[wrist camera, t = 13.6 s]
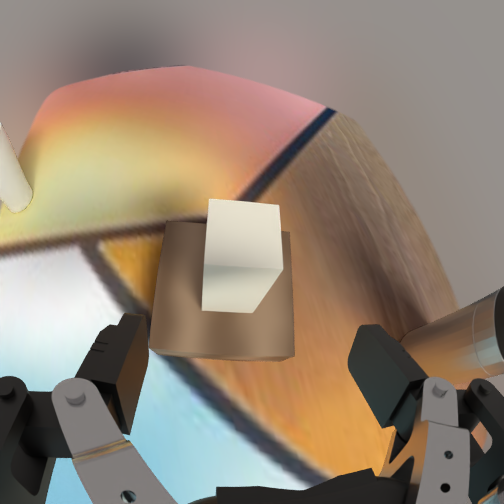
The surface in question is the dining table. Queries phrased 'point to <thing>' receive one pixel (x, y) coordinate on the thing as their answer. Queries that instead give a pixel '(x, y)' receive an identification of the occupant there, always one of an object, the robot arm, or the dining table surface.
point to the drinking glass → (12, 177)
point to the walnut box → (213, 322)
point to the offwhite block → (240, 255)
